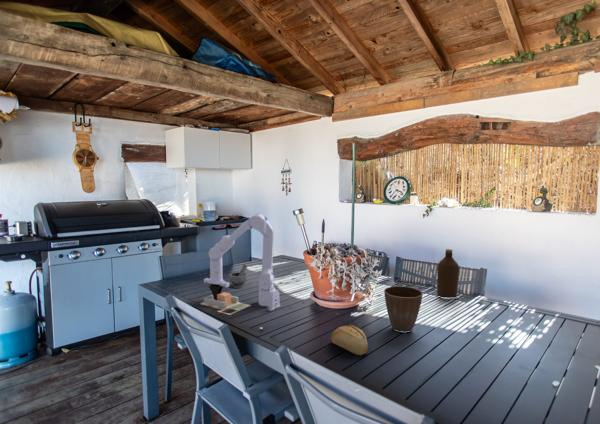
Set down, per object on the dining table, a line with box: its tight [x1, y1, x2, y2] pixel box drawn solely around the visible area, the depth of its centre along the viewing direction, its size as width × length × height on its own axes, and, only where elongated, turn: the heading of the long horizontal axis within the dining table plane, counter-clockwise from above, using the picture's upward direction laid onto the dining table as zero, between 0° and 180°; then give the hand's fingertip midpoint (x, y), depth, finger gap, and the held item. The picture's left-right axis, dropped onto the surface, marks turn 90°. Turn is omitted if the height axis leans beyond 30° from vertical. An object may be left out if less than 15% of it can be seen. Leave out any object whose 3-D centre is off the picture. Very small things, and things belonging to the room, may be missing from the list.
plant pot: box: [383, 285, 424, 332], centre depth 150 cm, size 15×15×16 cm
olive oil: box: [436, 248, 460, 298], centre depth 193 cm, size 11×11×25 cm
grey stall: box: [203, 294, 239, 308], centre depth 176 cm, size 13×10×2 cm
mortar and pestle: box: [228, 263, 249, 289], centre depth 207 cm, size 11×9×12 cm
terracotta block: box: [217, 291, 232, 305], centre depth 175 cm, size 4×4×4 cm
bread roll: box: [330, 324, 369, 356], centre depth 134 cm, size 10×15×8 cm, turn 46°
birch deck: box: [199, 301, 252, 316], centre depth 173 cm, size 22×14×2 cm
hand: (216, 299), depth 177 cm, fingers closed
